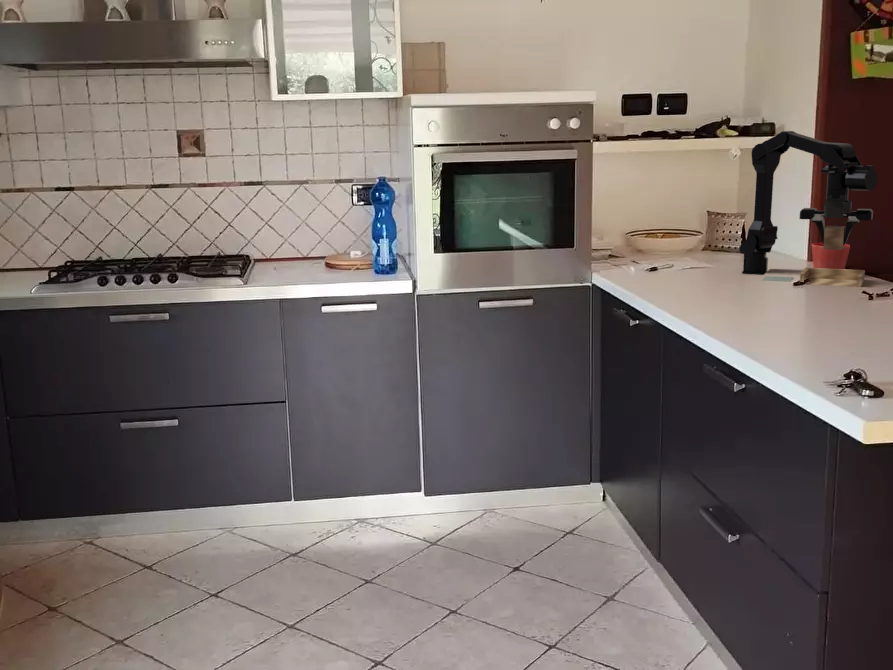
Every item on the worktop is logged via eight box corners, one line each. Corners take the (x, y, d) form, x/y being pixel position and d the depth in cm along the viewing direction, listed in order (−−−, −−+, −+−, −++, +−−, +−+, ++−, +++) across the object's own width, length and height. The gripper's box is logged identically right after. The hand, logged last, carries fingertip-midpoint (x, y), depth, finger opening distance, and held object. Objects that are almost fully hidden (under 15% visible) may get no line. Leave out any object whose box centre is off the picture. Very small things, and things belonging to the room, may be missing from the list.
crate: (799, 285, 259) (800, 273, 258) (805, 279, 269) (805, 267, 268) (860, 288, 251) (861, 276, 250) (864, 282, 261) (864, 270, 261)
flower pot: (840, 273, 278) (843, 241, 276) (853, 279, 267) (855, 246, 265) (805, 273, 279) (807, 242, 277) (815, 279, 268) (817, 246, 266)
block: (823, 248, 257) (824, 227, 255) (825, 246, 261) (826, 226, 260) (842, 249, 254) (843, 228, 253) (844, 247, 259) (845, 226, 257)
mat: (761, 282, 266) (761, 280, 266) (766, 277, 273) (766, 276, 273) (790, 283, 262) (790, 281, 262) (794, 279, 269) (794, 277, 269)
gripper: (798, 191, 251) (795, 247, 255) (872, 191, 243) (867, 249, 246) (803, 188, 261) (800, 242, 264) (874, 188, 252) (870, 244, 256)
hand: (833, 244), depth 257 cm, fingers closed on block, 5 cm apart
